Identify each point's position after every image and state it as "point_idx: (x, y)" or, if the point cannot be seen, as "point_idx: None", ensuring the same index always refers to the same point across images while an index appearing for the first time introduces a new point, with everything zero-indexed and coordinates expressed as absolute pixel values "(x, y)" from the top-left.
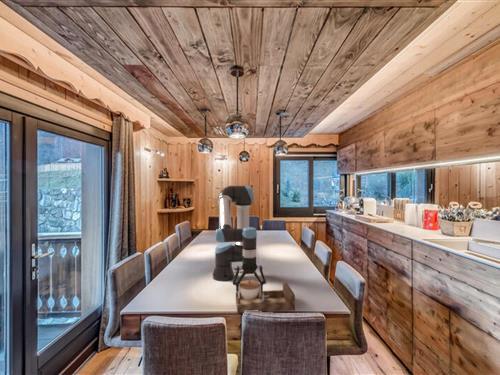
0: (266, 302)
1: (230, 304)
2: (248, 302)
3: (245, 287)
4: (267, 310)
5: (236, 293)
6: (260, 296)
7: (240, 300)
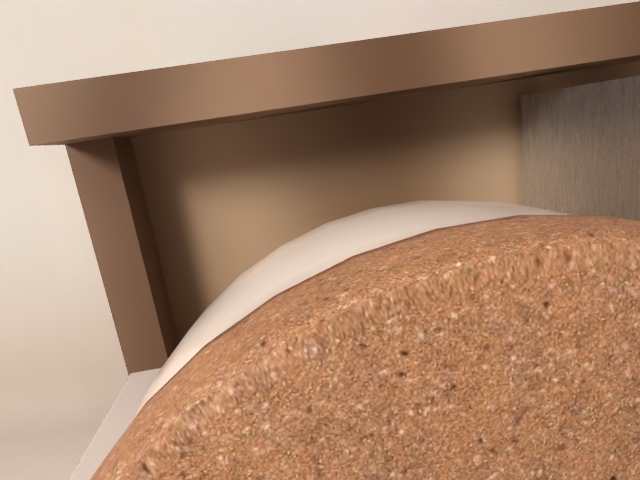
0: None
1: (40, 318)
2: None
3: None
4: None
5: (55, 143)
6: None
7: (192, 209)
